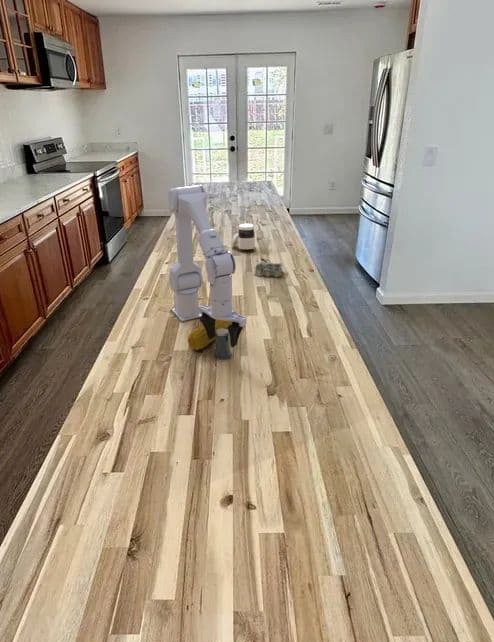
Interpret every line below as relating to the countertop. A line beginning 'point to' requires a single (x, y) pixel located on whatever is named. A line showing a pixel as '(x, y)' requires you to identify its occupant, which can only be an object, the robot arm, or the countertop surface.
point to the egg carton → (268, 269)
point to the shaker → (222, 343)
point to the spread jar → (244, 238)
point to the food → (204, 335)
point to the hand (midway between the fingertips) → (222, 341)
